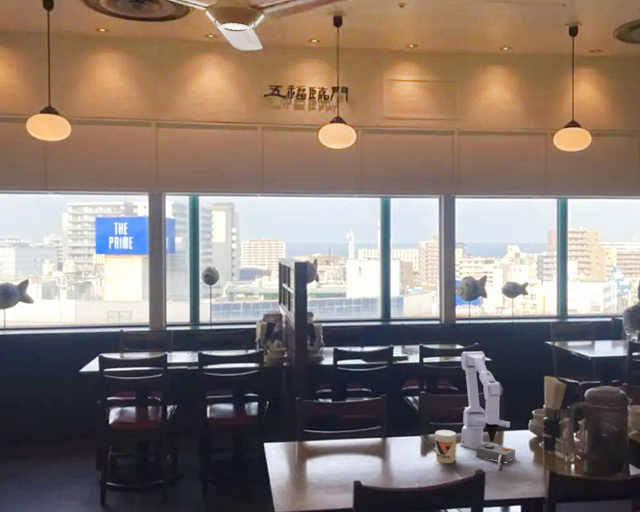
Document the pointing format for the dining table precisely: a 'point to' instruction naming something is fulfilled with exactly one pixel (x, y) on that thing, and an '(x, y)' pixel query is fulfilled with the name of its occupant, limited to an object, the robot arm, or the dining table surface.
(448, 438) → the coffee cup
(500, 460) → the side door
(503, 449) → the camera case
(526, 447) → the dining table surface
